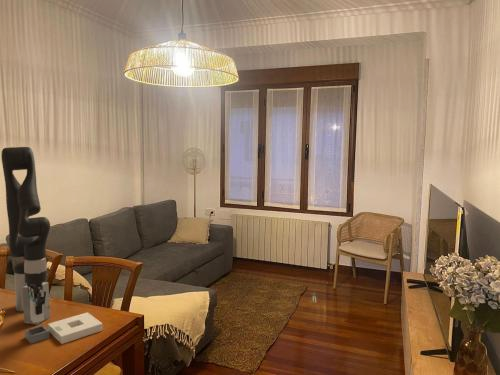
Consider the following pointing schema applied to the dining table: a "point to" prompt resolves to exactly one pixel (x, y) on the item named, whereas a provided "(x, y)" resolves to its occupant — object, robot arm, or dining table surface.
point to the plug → (33, 315)
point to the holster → (37, 334)
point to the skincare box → (27, 304)
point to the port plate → (74, 327)
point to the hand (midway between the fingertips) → (37, 311)
